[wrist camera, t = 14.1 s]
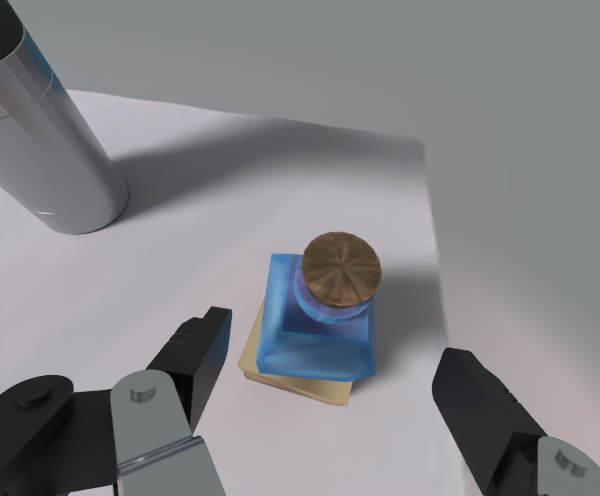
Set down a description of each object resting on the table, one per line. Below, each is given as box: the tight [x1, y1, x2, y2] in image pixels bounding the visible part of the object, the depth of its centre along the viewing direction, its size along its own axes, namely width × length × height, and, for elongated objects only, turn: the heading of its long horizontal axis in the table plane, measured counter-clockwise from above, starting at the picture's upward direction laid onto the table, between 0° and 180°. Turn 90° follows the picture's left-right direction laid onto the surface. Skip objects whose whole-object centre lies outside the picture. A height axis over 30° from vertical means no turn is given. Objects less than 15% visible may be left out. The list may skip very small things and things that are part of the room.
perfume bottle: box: [256, 232, 382, 382], centre depth 17 cm, size 6×6×12 cm
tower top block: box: [238, 298, 353, 406], centre depth 24 cm, size 8×8×4 cm
